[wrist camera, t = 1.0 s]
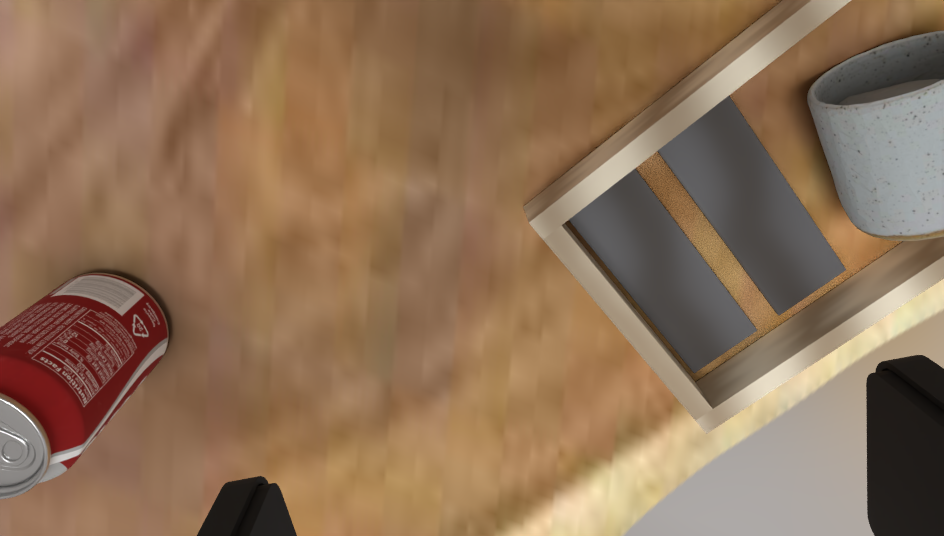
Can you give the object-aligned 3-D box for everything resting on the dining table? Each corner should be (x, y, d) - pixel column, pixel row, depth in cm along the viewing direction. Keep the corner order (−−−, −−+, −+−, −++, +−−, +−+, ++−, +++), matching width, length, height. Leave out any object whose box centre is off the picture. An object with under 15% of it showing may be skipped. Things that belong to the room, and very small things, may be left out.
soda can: (77, 247, 37) (-83, 348, 26) (191, 303, 39) (85, 422, 28) (38, 340, 39) (-126, 471, 28) (148, 390, 41) (32, 534, 30)
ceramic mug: (823, 223, 38) (912, 272, 31) (777, 93, 35) (863, 113, 28) (1007, 134, 37) (1145, 163, 29) (974, -9, 34) (1117, -15, 27)
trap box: (1075, -233, 30) (1138, -258, 28) (1196, 66, 35) (1260, 70, 33) (523, 206, 37) (528, 222, 34) (689, 405, 42) (706, 433, 39)
